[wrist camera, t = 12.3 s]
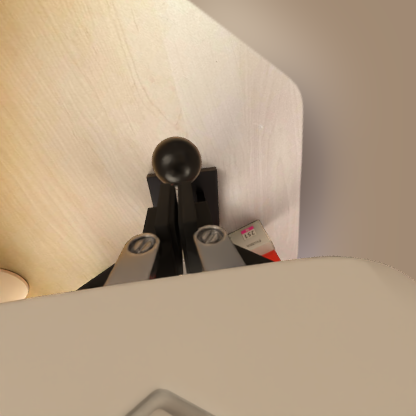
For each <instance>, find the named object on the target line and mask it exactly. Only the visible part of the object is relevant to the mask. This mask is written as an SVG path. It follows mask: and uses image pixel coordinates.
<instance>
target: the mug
mask: <svg viewBox="0 0 416 416" xmlns="http://www.w3.org/2000/svg"><path fill="white" fill-rule="evenodd" d="M28 292H29V286H28V284H27V282H26V281H25V280H24V279H23V278H22V277H20V276H19V275H18V274H15V273H13V272H11V271H8V270H4V269H0V303H4V302H9V301H15V300H21V299H25V297H26V296H27V294H28Z"/></svg>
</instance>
